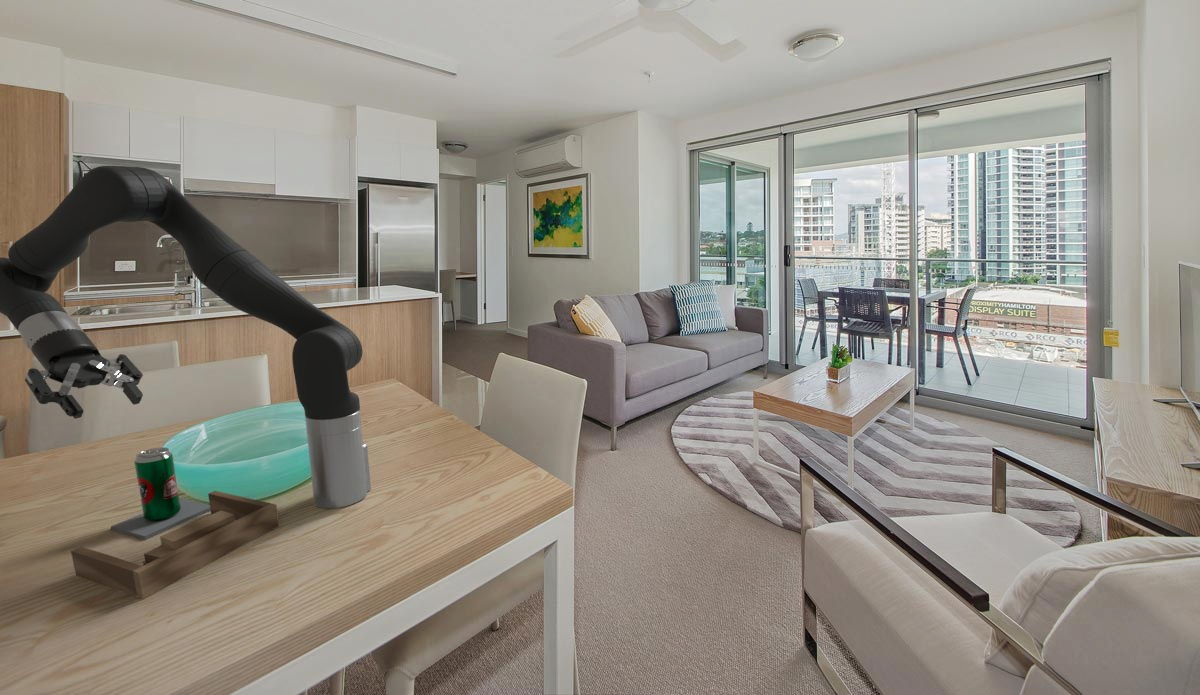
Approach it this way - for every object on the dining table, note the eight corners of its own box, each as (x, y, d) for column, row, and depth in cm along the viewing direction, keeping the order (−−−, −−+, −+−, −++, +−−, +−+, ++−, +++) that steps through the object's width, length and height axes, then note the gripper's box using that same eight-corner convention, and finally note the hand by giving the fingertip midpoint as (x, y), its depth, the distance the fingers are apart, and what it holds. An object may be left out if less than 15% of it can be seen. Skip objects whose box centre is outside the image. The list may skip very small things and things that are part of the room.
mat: (181, 500, 98) (180, 498, 98) (213, 508, 95) (213, 505, 95) (111, 529, 88) (110, 526, 88) (145, 539, 85) (144, 536, 85)
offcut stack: (223, 529, 88) (220, 507, 87) (243, 534, 87) (239, 511, 86) (142, 569, 77) (137, 544, 76) (162, 576, 76) (158, 550, 75)
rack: (217, 511, 95) (215, 490, 94) (278, 525, 90) (276, 504, 89) (75, 575, 76) (70, 550, 75) (143, 599, 71) (138, 572, 70)
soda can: (175, 519, 90) (164, 455, 88) (138, 525, 88) (127, 459, 86) (185, 506, 95) (176, 444, 93) (151, 511, 93) (141, 448, 91)
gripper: (8, 334, 85) (64, 406, 84) (112, 322, 99) (162, 384, 97) (-2, 363, 88) (52, 434, 86) (101, 348, 101) (149, 409, 100)
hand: (110, 408), depth 92 cm, fingers open, 8 cm apart
